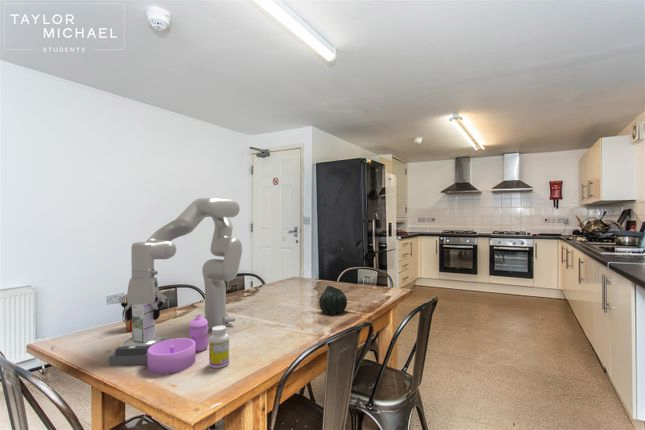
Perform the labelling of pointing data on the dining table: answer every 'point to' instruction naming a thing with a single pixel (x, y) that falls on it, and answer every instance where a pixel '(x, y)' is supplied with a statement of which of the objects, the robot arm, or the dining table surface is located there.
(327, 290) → the squash
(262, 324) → the dining table surface
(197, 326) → the container set
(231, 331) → the dining table surface
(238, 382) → the dining table surface
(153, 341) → the scale pan
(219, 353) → the supplement bottle
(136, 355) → the scale base
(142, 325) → the syrup box
